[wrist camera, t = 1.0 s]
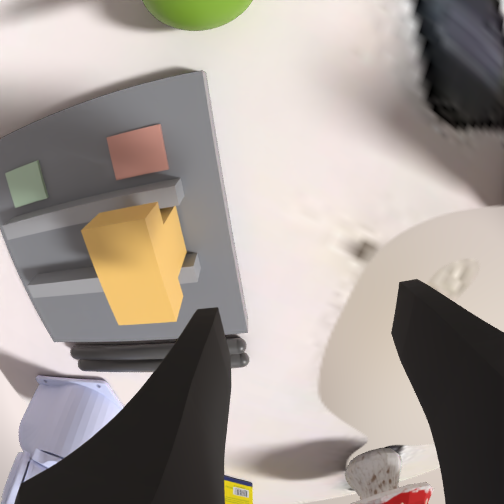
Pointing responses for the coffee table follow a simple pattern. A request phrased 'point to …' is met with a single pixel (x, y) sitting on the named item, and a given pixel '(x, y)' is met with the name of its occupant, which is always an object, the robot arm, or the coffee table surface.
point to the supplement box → (237, 491)
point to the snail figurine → (196, 12)
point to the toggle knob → (138, 261)
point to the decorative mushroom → (383, 480)
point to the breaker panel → (116, 197)
